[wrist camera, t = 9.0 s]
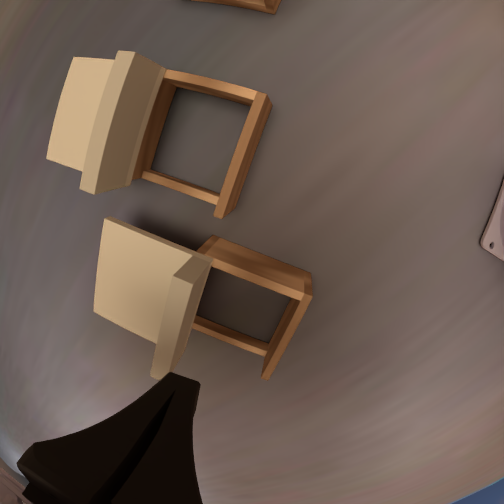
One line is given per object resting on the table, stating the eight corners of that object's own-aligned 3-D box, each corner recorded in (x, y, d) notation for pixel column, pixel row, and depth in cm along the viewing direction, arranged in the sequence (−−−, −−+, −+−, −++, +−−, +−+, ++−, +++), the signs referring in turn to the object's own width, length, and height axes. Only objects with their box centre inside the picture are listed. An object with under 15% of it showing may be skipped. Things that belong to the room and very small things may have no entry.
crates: (414, -10, 12) (429, -31, 9) (272, 350, 22) (267, 380, 18) (216, -62, 12) (204, -86, 9) (100, 276, 22) (75, 293, 19)
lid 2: (213, 258, 16) (193, 284, 13) (185, 350, 19) (165, 383, 15) (110, 216, 16) (74, 230, 13) (98, 307, 19) (70, 331, 16)
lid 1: (166, 68, 13) (135, 52, 10) (130, 185, 16) (94, 194, 12) (79, 58, 13) (44, 48, 10) (52, 157, 16) (15, 163, 13)
